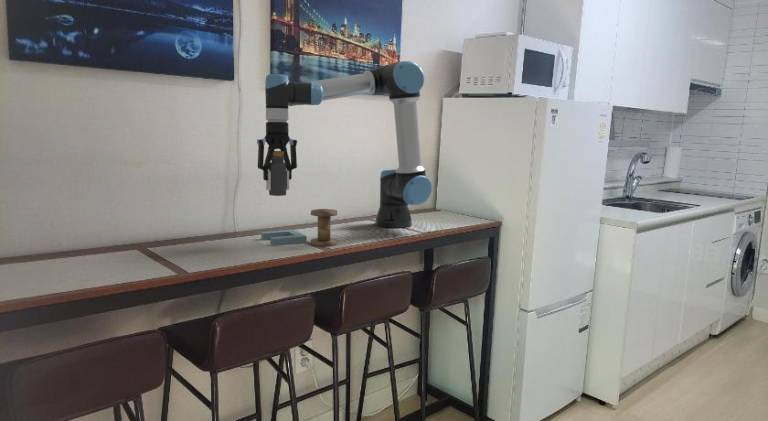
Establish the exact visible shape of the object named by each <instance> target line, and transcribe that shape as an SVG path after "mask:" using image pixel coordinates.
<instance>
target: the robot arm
mask: <svg viewBox="0 0 768 421" xmlns="http://www.w3.org/2000/svg"><path fill="white" fill-rule="evenodd" d="M264 83H265V84H264V86H265V88H264V89H265V120H266V122H265V136H264V137H263V138H259V139H257V140H256V144H257V146H258V147H257V148H258V151H257V152H258V154H257V169H259V170H261V171H262V174H263V175H262V176H263V178H262V179H263V181H265V185H266V186H265V188H266V189H265V190H267V191H269V190H271V171H269V166H270V163H271V162H272V160H271V159H272V155H273V152H274V151H276V150H279V151H284V157H285V159H284V160H283V162H284V163H285V164H286V191H288V190H290V181H291V180H292V177H293V176H292V172H293V170H294V169H297V168H298V161H297V159H298V158H297V144H298V140H297V139H292V138H290V136H289V122H287V121H289V107H293V106H319V105H320V104H322V102H323V101H329V100H335V99H339V98H340V99H341V98H346V97H351V96H353V97H354V96H359V95H363V94H367V95H368V96H374V95H388V98H389V101H390V102H391V103H392V104H393V111H394V123H395V134H396V144H397V145H396V146H397V148H396V149H397V157H398V158H397V159H398V168H396V169H385V170H382V171H380V178H379V181H380V182H379V183H380V185H379V186H380V187H379V188H380V189H379V191H380V192H379V207H378V210H377V214H376V216H375V220H374V221H375V223H374V224H375V226H377V227H381V228H393V229H395V228H396V229H397V228H398V229H399V228H409V227H412V225H413V224H412V223H413V222H412V221H413V220H412V217H411V214H410V213H411V212H410V210H409V205H410V206H421V205H423V204H425V203H426V202H427V201H428V199H429V198H430V197H431V196H432V192H433V185H432V182H431V180H430V179H429V178H428V177H427V174H426V168H425V167H424V166H423V165H422V162H421V161H422V158H421V150H420V148H421V147H420V146H421V145H420V135H419V133H420V132H419V131H420V130H419V123H418V122H419V119H418V118H419V117H418V106H417V102H418V100H420V98H421V93H420V91H421V90H422V88H423V87H424V84H425V74H424V72H423V69H422V67H421V66H419V65H418V64H417V63H416V62H414V61H411V60H407V61H406V60H403V61H397V62H393V63H389V64H386V65H382V66H379V67H376V68H371V69H366V70H365V71H364V72H363V73H357V74H351V75H345V76H339V77H332V78H331V77H330V78H326V79H320V80H313V81H307V82H306V81H305V82H303V81H291V80H289V76H288V75H286V74H281V73H271V74H267V75H266V77H265V82H264ZM266 143H267V145H268V147H267V152H266V156H265V144H266ZM288 143H289V149H290V150H289V151H290V152H289V153H290V157H289V154H288V148H287V145H288ZM264 158H265V159H264Z"/></svg>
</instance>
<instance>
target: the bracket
mask: <svg viewBox="0 0 768 421" xmlns="http://www.w3.org/2000/svg"><path fill="white" fill-rule="evenodd" d="M260 236H261V237H260V238H261V240H262V241H270V242H269V243H270V245H271V246H272V247H275V246H276V247H277V246H278V247H279V246H287V245H296V244H297V245H298V244H307V243H308V242H307V238H308V236H307V235H305V234H303V233H301V232H299V231H297V230H295V229H286V230H283V229H282V230H272V231H261V233H260Z"/></svg>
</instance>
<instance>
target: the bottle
mask: <svg viewBox="0 0 768 421" xmlns="http://www.w3.org/2000/svg"><path fill="white" fill-rule="evenodd" d="M284 159H285V157H284V151H281V150H274V152H273V155H272V159H271V162H270V166H269V169H268V171H271V190H268V192H269V193H268V195H269V196H274V197H280V196H283V197H284V196H286V195H287V190H286V170H287V169H286V164H285V162H284Z"/></svg>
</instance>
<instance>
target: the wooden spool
mask: <svg viewBox="0 0 768 421" xmlns="http://www.w3.org/2000/svg"><path fill="white" fill-rule="evenodd" d="M310 215H311V216H313V217H317V237H315V238H314V237H313V238H311V239H310V245H311V246H315V247H333V246H336V245H337V244H338V239H337V238H333V237H331V220H332V219H331V218H332V217H336V216H337V215H338V210H337V209H330V208H329V209H328V208H318V209H317V208H316V209H312V210H310Z"/></svg>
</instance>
